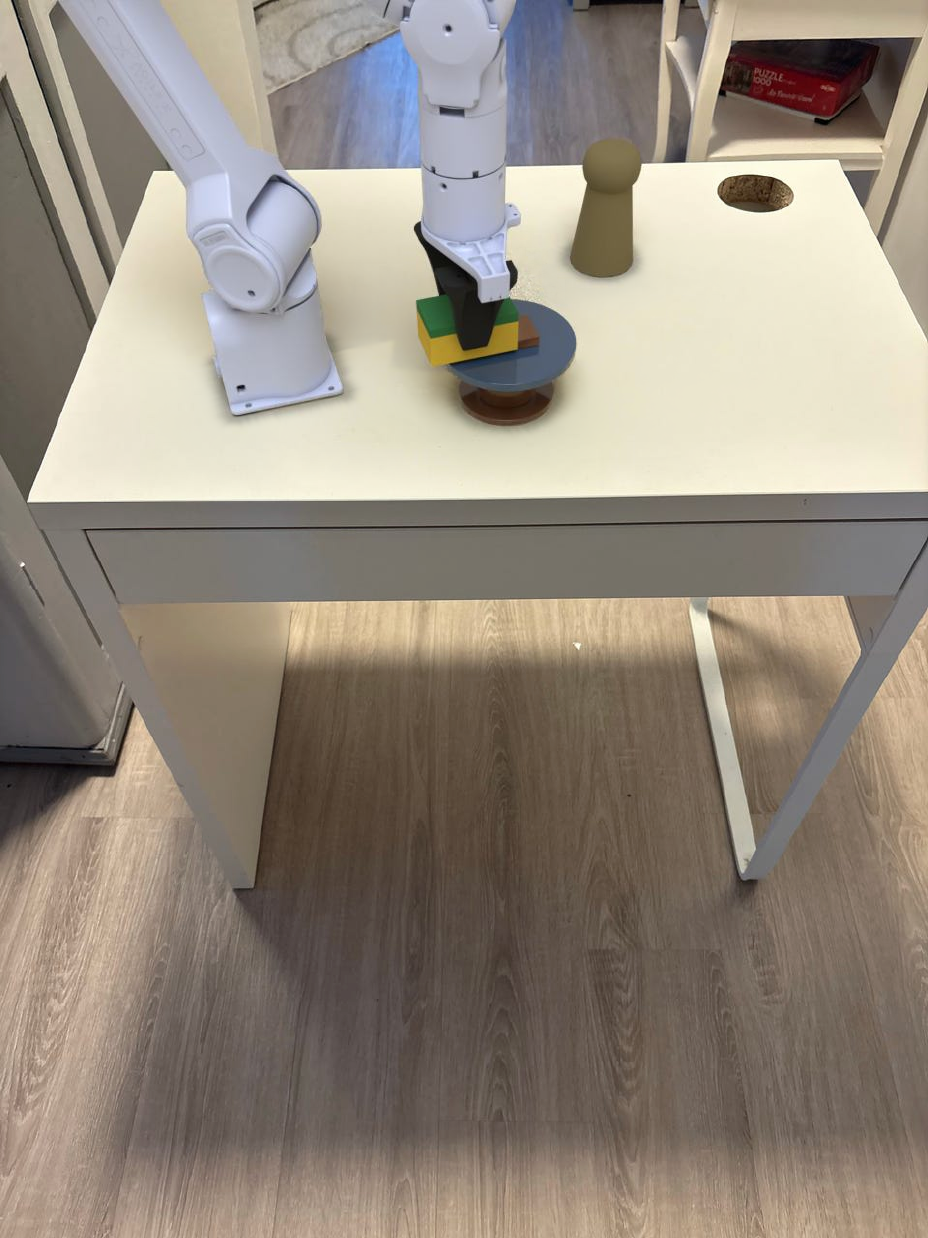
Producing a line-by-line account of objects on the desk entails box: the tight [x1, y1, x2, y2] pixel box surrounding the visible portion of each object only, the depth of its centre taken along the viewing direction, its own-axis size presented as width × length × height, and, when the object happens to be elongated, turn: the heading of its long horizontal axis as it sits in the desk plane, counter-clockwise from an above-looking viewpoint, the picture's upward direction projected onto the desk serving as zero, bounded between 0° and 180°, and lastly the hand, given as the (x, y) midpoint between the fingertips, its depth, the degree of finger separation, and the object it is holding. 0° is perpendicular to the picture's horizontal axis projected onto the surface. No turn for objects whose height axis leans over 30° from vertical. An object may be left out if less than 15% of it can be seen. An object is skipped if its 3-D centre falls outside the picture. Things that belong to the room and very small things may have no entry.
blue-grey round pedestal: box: [444, 298, 578, 427], centre depth 81 cm, size 11×11×6 cm
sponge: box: [415, 294, 519, 368], centre depth 76 cm, size 7×4×3 cm, turn 107°
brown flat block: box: [517, 315, 540, 350], centre depth 78 cm, size 2×3×1 cm, turn 17°
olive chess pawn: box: [569, 137, 643, 278], centre depth 90 cm, size 6×6×11 cm
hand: (465, 328), depth 76 cm, fingers closed on sponge, 4 cm apart
